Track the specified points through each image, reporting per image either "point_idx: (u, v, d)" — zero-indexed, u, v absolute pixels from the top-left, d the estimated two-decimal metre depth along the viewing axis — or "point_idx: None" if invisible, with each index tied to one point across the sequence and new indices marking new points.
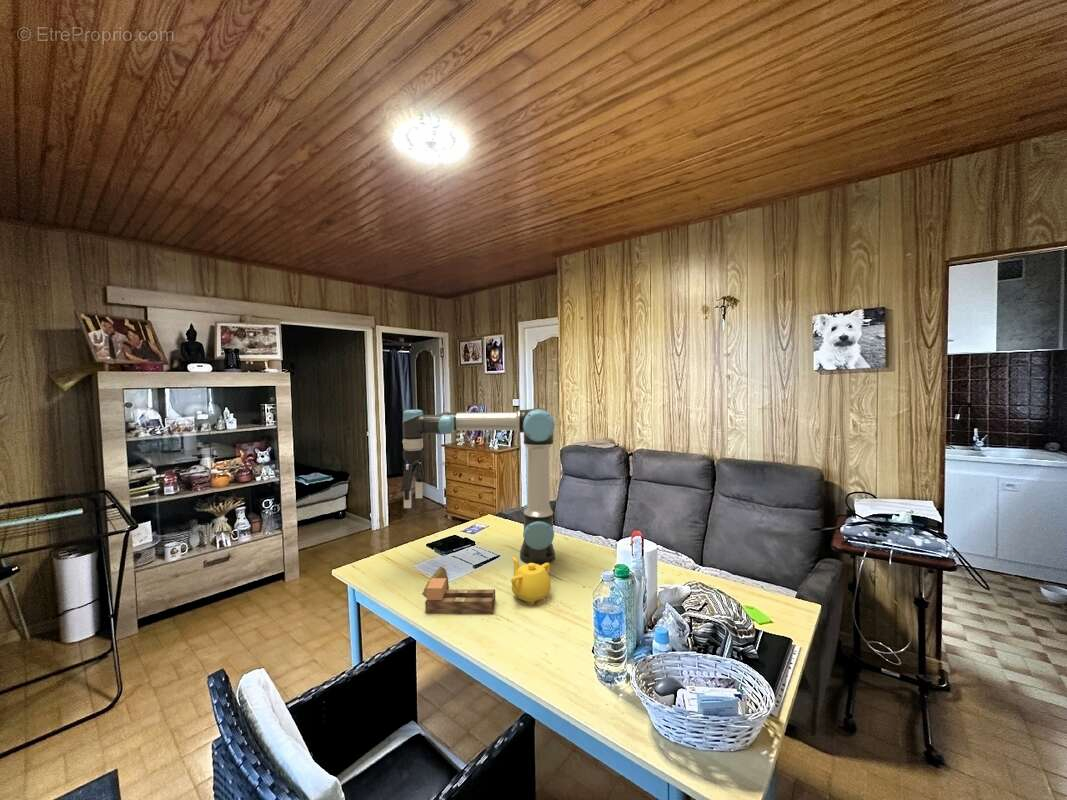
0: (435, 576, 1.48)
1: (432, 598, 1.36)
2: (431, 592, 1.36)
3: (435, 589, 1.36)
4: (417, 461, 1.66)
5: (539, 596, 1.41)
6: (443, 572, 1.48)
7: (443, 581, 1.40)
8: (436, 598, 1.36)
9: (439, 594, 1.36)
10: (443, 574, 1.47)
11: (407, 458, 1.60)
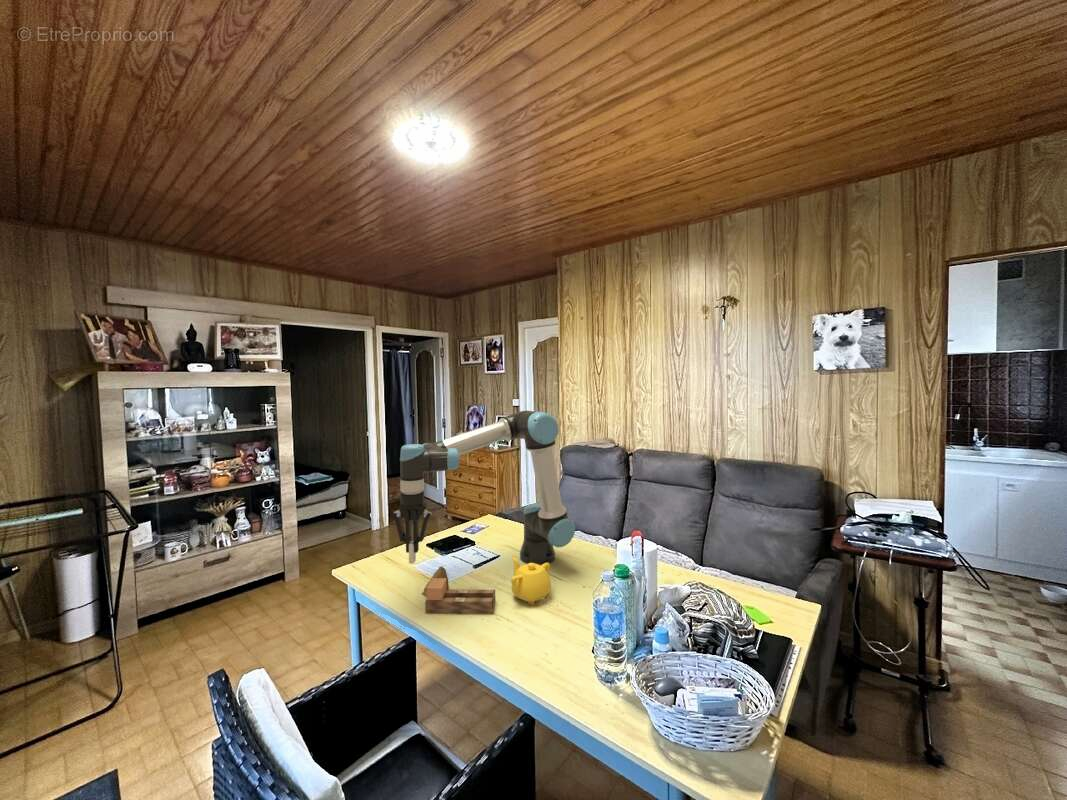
0: (435, 576, 1.48)
1: (432, 598, 1.36)
2: (431, 592, 1.36)
3: (435, 589, 1.36)
4: (417, 508, 1.37)
5: (539, 596, 1.41)
6: (443, 572, 1.48)
7: (443, 581, 1.40)
8: (436, 598, 1.36)
9: (439, 594, 1.36)
10: (443, 574, 1.47)
11: None
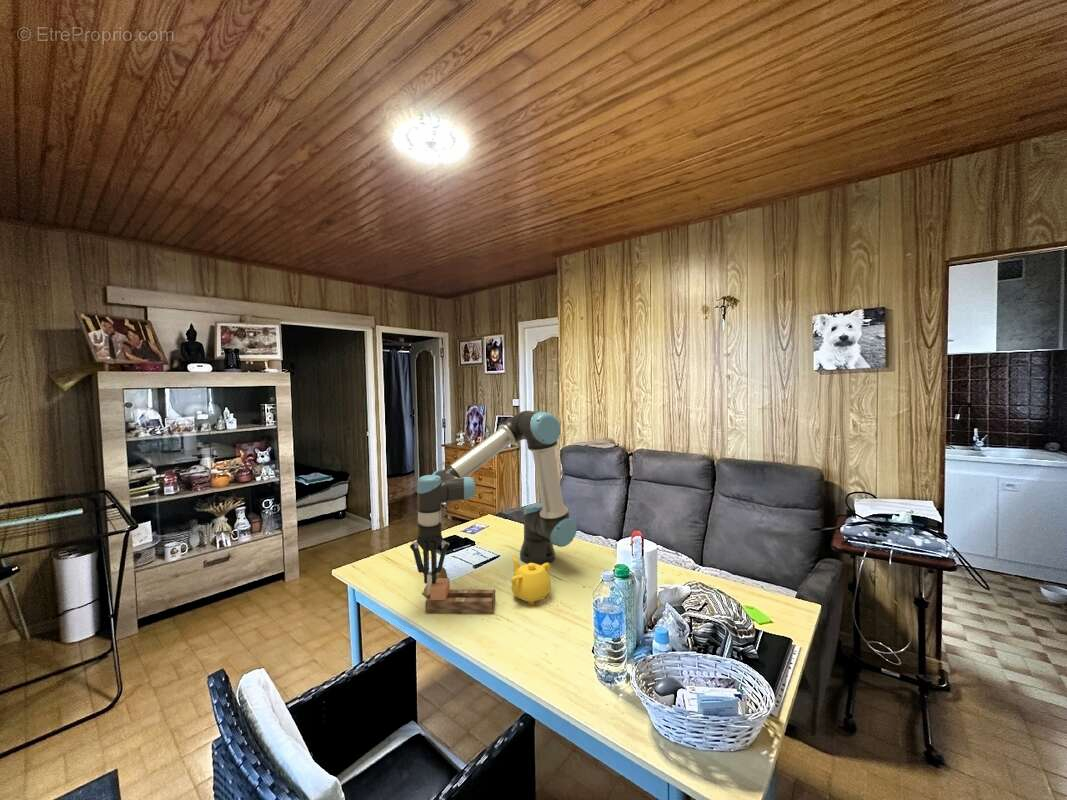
0: None
1: (435, 598, 1.36)
2: (434, 592, 1.36)
3: (439, 589, 1.36)
4: (434, 539, 1.38)
5: (539, 596, 1.41)
6: (443, 572, 1.48)
7: (446, 581, 1.40)
8: (439, 598, 1.36)
9: (443, 594, 1.36)
10: (443, 574, 1.47)
11: None
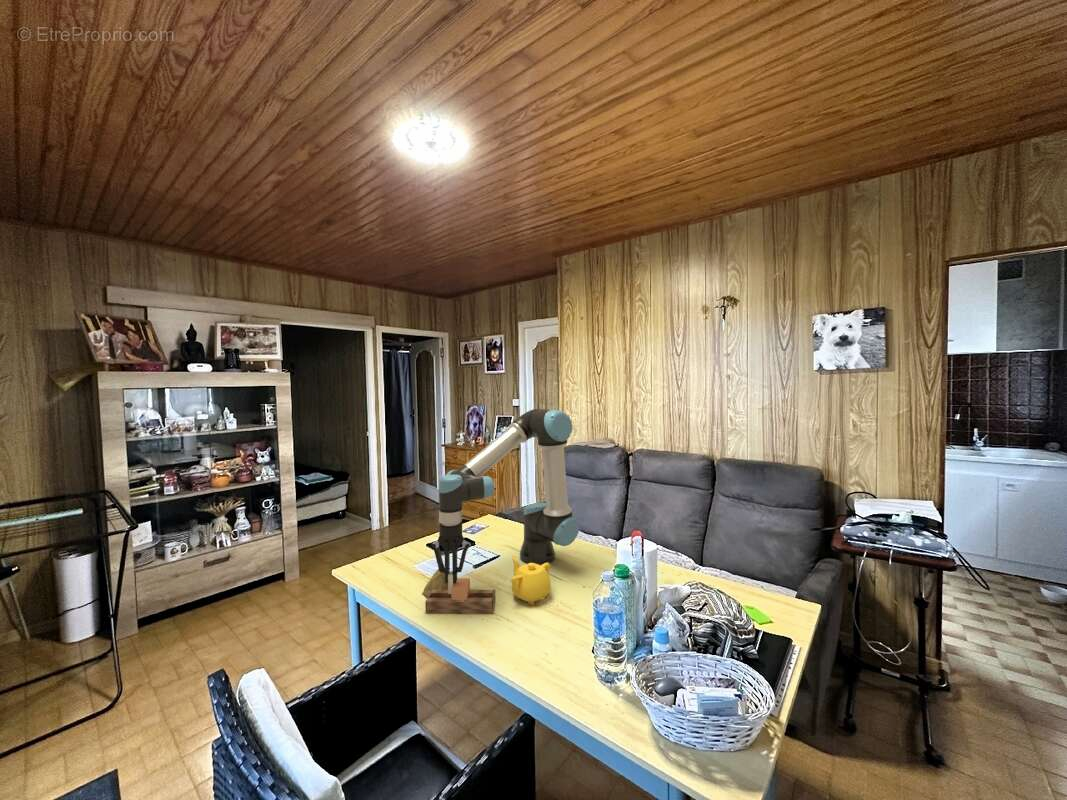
0: (435, 576, 1.48)
1: (457, 598, 1.36)
2: (456, 592, 1.36)
3: (460, 589, 1.36)
4: (455, 538, 1.38)
5: (539, 596, 1.41)
6: None
7: (467, 581, 1.40)
8: (461, 598, 1.36)
9: (464, 594, 1.36)
10: (443, 574, 1.47)
11: None
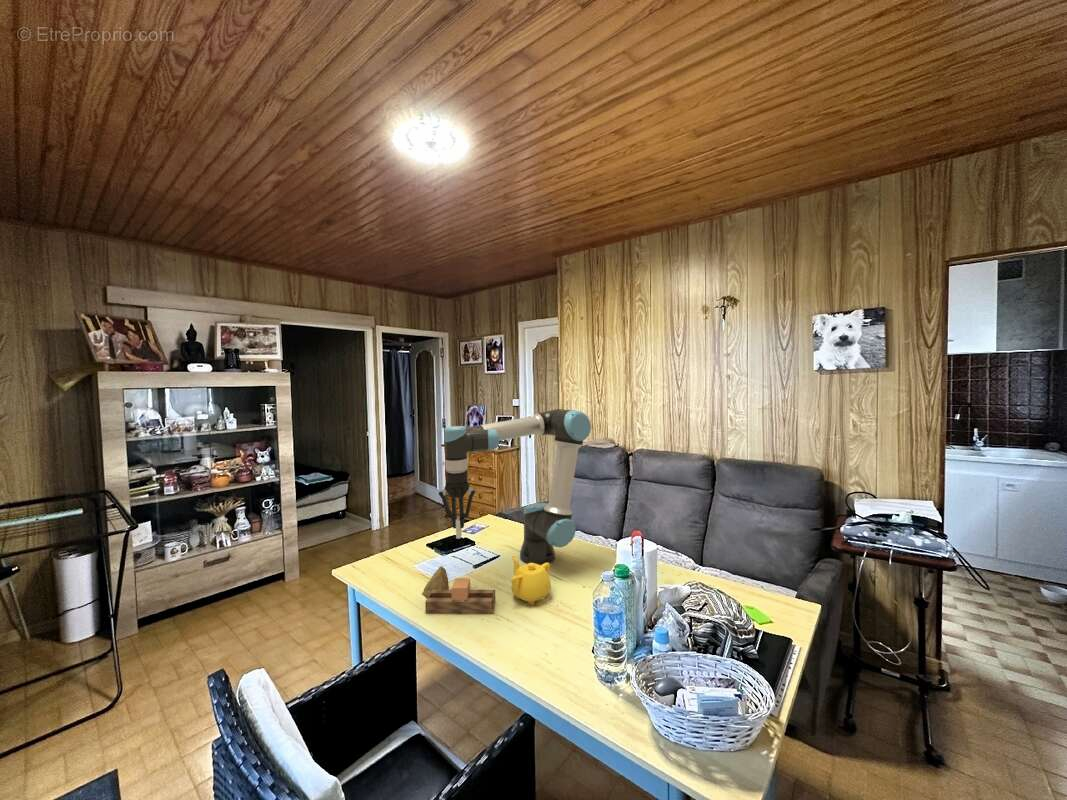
0: (435, 576, 1.48)
1: (457, 598, 1.36)
2: (456, 592, 1.36)
3: (460, 589, 1.36)
4: (462, 486, 1.45)
5: (539, 596, 1.41)
6: (443, 572, 1.48)
7: (467, 581, 1.40)
8: (461, 598, 1.36)
9: (464, 594, 1.36)
10: (443, 574, 1.47)
11: None
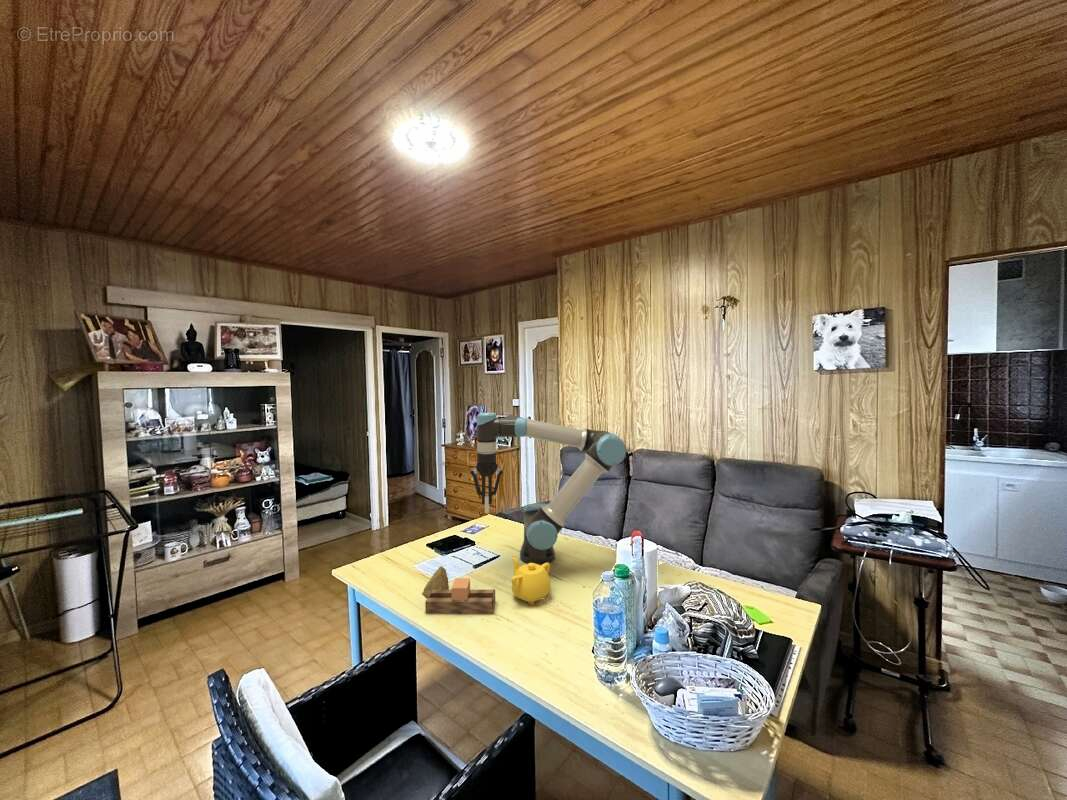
0: (435, 576, 1.48)
1: (457, 598, 1.36)
2: (456, 592, 1.36)
3: (460, 589, 1.36)
4: (491, 466, 1.62)
5: (539, 596, 1.41)
6: (443, 572, 1.48)
7: (467, 581, 1.40)
8: (461, 598, 1.36)
9: (464, 594, 1.36)
10: (443, 574, 1.47)
11: None
